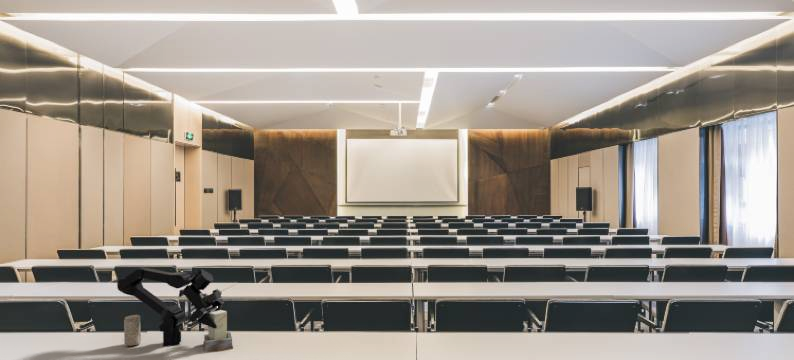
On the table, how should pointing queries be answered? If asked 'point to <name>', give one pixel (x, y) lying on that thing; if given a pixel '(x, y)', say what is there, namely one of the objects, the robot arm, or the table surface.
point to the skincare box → (218, 325)
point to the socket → (217, 343)
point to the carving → (132, 330)
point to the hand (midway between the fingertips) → (220, 325)
